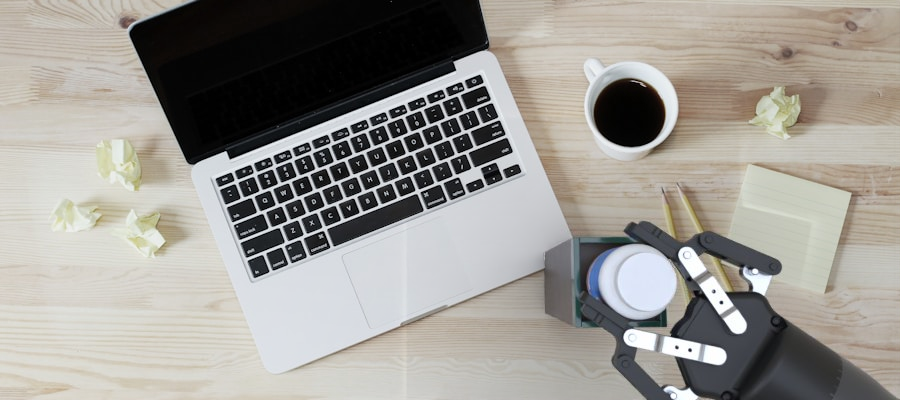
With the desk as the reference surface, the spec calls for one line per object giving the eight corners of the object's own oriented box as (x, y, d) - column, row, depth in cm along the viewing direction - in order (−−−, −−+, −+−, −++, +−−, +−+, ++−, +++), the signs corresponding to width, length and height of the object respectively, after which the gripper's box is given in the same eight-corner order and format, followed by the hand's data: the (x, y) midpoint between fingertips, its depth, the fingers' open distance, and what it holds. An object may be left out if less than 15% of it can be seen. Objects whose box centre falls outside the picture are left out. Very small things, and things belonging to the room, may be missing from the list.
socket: (661, 325, 60) (667, 327, 58) (572, 326, 61) (575, 327, 59) (658, 237, 61) (663, 236, 59) (570, 238, 61) (573, 236, 59)
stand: (606, 313, 87) (661, 325, 60) (544, 313, 87) (572, 326, 61) (604, 251, 88) (658, 237, 61) (543, 252, 88) (570, 238, 61)
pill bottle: (579, 307, 59) (596, 310, 49) (593, 241, 60) (613, 232, 50) (647, 323, 59) (677, 330, 49) (661, 257, 59) (694, 251, 50)
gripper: (891, 315, 48) (671, 171, 50) (773, 501, 47) (552, 347, 49) (838, 311, 56) (647, 186, 58) (734, 472, 55) (544, 339, 57)
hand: (604, 261), depth 54 cm, fingers closed on pill bottle, 5 cm apart
